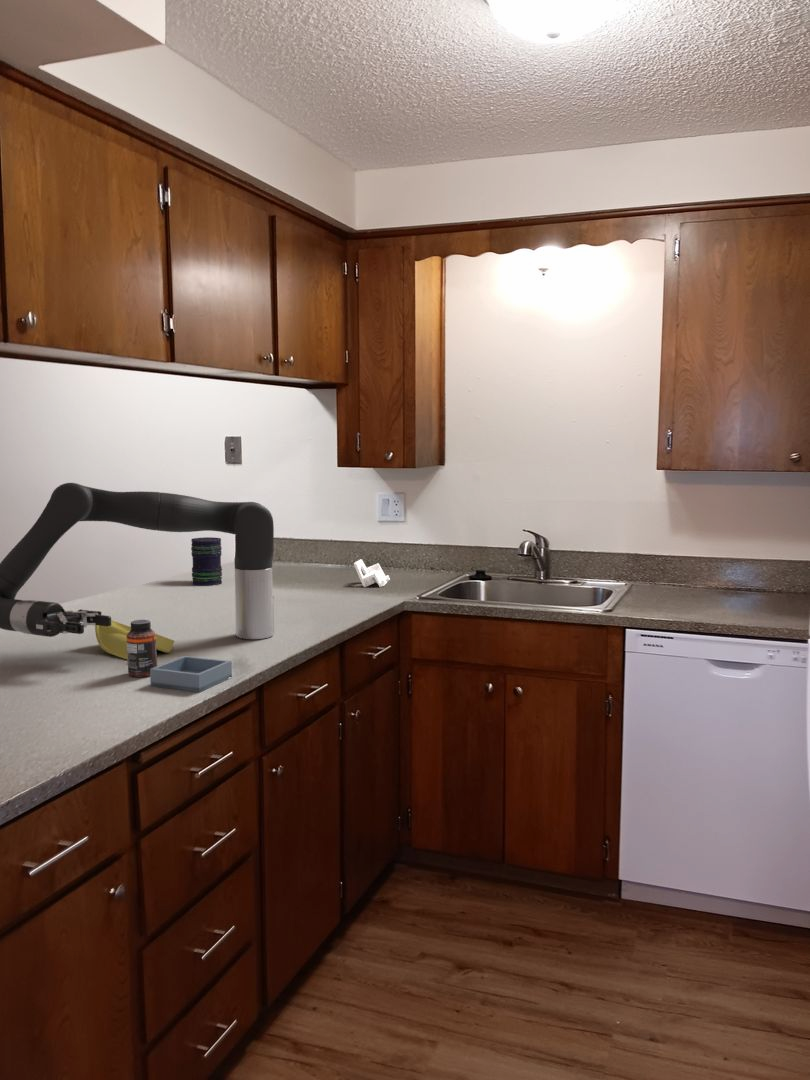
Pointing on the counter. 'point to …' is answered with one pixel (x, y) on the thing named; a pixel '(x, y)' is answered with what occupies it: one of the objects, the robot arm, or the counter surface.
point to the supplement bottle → (141, 648)
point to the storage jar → (206, 561)
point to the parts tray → (190, 673)
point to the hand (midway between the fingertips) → (96, 625)
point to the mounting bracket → (371, 574)
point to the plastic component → (124, 639)
